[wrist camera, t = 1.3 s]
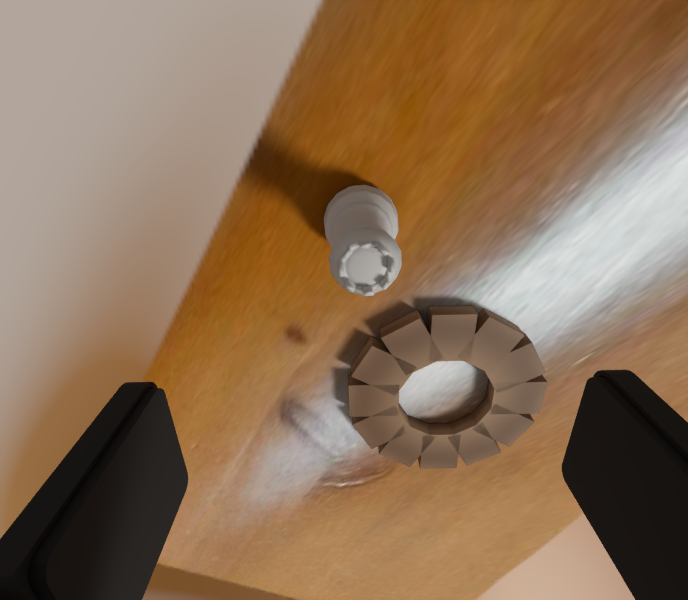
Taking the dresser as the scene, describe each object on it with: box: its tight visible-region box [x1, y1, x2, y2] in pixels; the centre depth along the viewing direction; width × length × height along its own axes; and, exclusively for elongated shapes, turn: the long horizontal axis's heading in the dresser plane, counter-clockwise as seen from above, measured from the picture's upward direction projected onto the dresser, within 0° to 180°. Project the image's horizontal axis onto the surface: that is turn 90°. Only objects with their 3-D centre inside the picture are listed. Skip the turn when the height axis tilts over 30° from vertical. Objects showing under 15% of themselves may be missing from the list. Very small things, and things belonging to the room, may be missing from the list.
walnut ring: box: [348, 306, 547, 469], centre depth 29 cm, size 14×14×1 cm
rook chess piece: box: [324, 185, 402, 296], centre depth 21 cm, size 4×4×8 cm
